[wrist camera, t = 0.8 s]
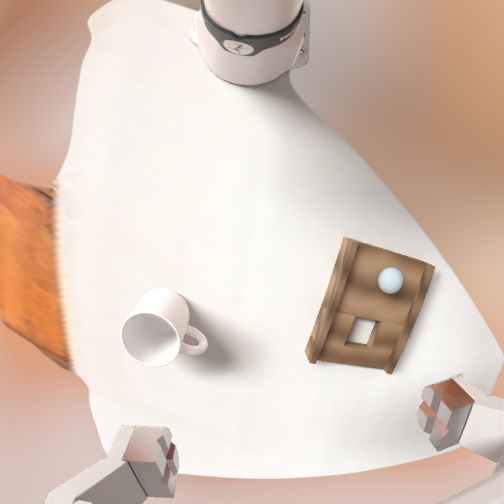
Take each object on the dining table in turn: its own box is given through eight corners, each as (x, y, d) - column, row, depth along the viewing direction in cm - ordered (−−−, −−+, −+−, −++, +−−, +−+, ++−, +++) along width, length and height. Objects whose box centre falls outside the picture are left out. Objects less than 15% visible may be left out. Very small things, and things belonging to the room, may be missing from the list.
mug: (220, 311, 50) (217, 341, 39) (199, 352, 51) (192, 387, 41) (151, 277, 48) (131, 300, 38) (133, 320, 49) (113, 350, 39)
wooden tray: (343, 236, 48) (352, 241, 44) (423, 261, 50) (435, 266, 46) (304, 351, 52) (309, 362, 48) (383, 363, 53) (391, 373, 49)
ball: (378, 261, 47) (390, 268, 43) (399, 267, 47) (411, 274, 43) (370, 286, 47) (381, 294, 43) (391, 291, 48) (402, 299, 44)
